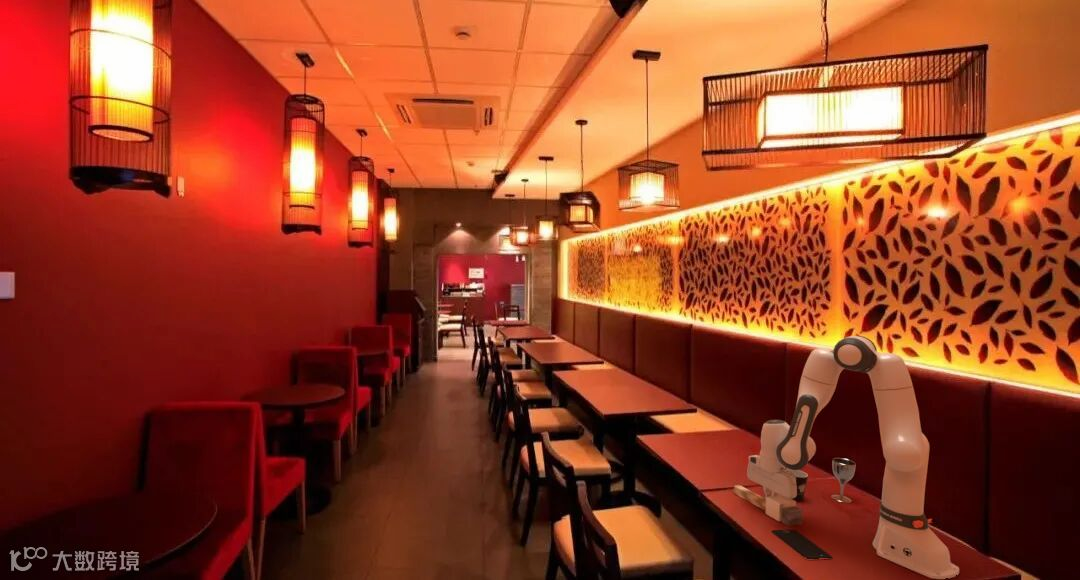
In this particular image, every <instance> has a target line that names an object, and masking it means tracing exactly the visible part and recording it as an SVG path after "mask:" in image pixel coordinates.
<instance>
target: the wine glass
mask: <svg viewBox="0 0 1080 580" xmlns="http://www.w3.org/2000/svg"><path fill="white" fill-rule="evenodd" d="M831 463H832V466H831V467H832V473H833V475H834V476H835V478H836V479H837V480H838V482H839V484H840V494H831V496H830V497H831V498H832V499H833V500H835V501H837V502H840V503H841V502H842V503H846V504H848V503H852V499H851V498H849V497H847V496H845V495H844V488H845V485H846V484H847V483H848V482H849V481H850V480H852V479H853V477H854V475H855V472H856V462H855V461H853V460H850V459H848V458H842V457H834V458H832V462H831Z"/></svg>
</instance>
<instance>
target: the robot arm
mask: <svg viewBox="0 0 1080 580" xmlns="http://www.w3.org/2000/svg"><path fill="white" fill-rule="evenodd" d="M843 370H849V371H852V372H853V371H854V372H860V373H866V374H867V375H868V376H869V379H870V383H871V386H872V387H871V388H872V392H873V396H874V401H875V404H876V405H875V406H876V409H877V416H878V425H879V434H880V442H881V447H882V454H883V457H884V459H885V468H884V471H883V472H884V473H883V474H884V475H883V477H882V478H883V479H882V490H881V501H880V502H879V508H878V515H879V516H878V517H879V521H878V525H877V530H876V533H875V537H874V539H873V541H872V544H871V545H872V546H873V548H874V549H875V550H876V555H877V556H879V557H880V558H883V559H886V560H887V561H890V562H893V563H894V564H897V565H899V566H901V567H904V568H907V569H908V570H911V571H914V572H915V573H917V574H920V575H923V576H924V577H927V578H929V579H933V580H934V579H936V580H945V579H946V578H948V579H951V578H955V577H957V576H958V575H959V574H960V567H959V566H957V565H955V564H954V563H952V562H951V554H950V551H949V548H948V547H947V546H946V544H944V542H942V541H941V539H940V538H939V537H938V536H937V535H936V534H935V533H934V531H932V529H930V528H931V527H929V526H930V525H929V524H930V523H931V524H932V520H933V518H928V519H927V517H926V514H925V512H924V505H925V492H926V483H927V474H928V465H929V459H930V457H929V456H930V442H929V441H928V438H927V437H926V435H925V434H924V433H923V432H922V427H921V420H920V411H919V406H918V402H917V399H916V393H915V389H914V385H913V382H912V378H911V375H910V372H909V369H908V367H907V365H906V362H905V361H904V359H903V358H902V357H901V356H900V355H898V354H895V353H892V352H884V353H882V352H881V353H880V352H878V350H877V347H876V344H875V343H874V342H873V341H872V340H871V339H870V338H868V337H865V336H861V335H850V336H846V337H844V338H843V339H840V340H839V341H838V342H837V343H836V344H835V345H834V348H833V349H830V348H828V347H827V348H826V347H818V348H815V349H813V350H812V351H811V352H810V354H809V356H808V357H807V360H806V362H805V364H804V367H803V370H802V372H801V373H802V374H801V377H800V381H799V387H798V394H797V400H796V404H795V405H796V406H795V410H794V412H793V417H792V419H791V423H790V425H789V424H788V423H787V422H786V421H785V420H781V419H769V420H767V421H765V422H764V423H763V425H762V428H761V432H760V444H761V446H760V447H761V449H760V451H759V454H754V455H749V456H748V464H747V468H746V469H747V470H746V476H747V478H748V480H750V481H752V482H754V483H756V484H758V485H760V486H761V487H762V489H763V492H764V494H765V496H764V498H765V499H766V497H771V496H777V495H782V496H784V497H786V498H788V499H792V498H795V497H796V496H797V485H796V477H795V476H794V474H793V473H792V472H790V471H788V470H786V469H791V470H800V471H801V470H802V469H804V468H805V467H806V465H807V464H808V462H810V460H811V459H812V458H813V456H815V454H816V452H817V445H816V442H815V440H814V439H813V437H811V436H810V435H811V431H812V428H813V424H814V422H815V419H816V418H817V416H818V414H819V413H820V412H821V411H822V409H824V408H825V407H826V406H827V405H828V404H829V402H830V401H831V399H832V397H833V395H834V394H835V393H834V392H835V391H836V388H837V384H838V380H839V377H840V374H841V373H842V371H843ZM785 467H786V469H785ZM956 575H957V576H956Z"/></svg>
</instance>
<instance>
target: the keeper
mask: <svg viewBox="0 0 1080 580" xmlns="http://www.w3.org/2000/svg"><path fill="white" fill-rule="evenodd" d="M794 506H796V507H797V501H794V500H792V499H788V498H786V497H784V496H782V495H780V494H777V496H771V497H766V511H765V515H767V516H769V517H770V518H771V519H774V520H775V521H777V522H782V515H783V508H789V507H794Z"/></svg>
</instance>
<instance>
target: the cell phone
mask: <svg viewBox="0 0 1080 580" xmlns="http://www.w3.org/2000/svg"><path fill="white" fill-rule="evenodd" d="M771 533H773V534H774V535H775V536H776V537H777V538H779V540H781V541H783V542H784V543H785V544H786V545H787V546H789V547H790V548H792V549H793V550H794V551H795V550H796V551H795V552H797V553H798V554H799V553H800V554H801V557H803V556H804V557H806V558H807V559H819V558H832V559H833V556H832V555H831V554H829V553H828V552H827V551H825V550H824V549H823V548H821V547H820V546H818V545H817V544H816V543H814V542H813V541H812V540H810V539H809V538H808V537H806V536H805V535H803V534H802V533H801V532H800V531H798V530H796V529H795V528H788V529H786V528H785V529H772V530H771ZM800 554H799V555H800ZM804 557H803V558H804ZM807 559H806V560H807Z"/></svg>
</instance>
